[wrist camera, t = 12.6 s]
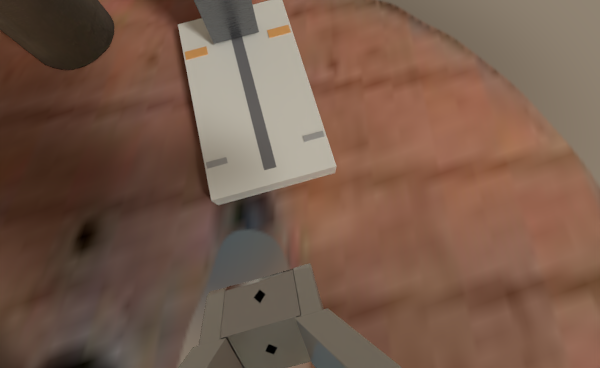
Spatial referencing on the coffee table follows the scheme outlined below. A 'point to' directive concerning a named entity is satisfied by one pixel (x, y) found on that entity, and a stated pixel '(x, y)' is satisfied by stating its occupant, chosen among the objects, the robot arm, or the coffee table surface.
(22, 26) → the pillar candle
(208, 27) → the fader tab
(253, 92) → the board
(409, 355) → the coffee table surface
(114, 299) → the coffee table surface
